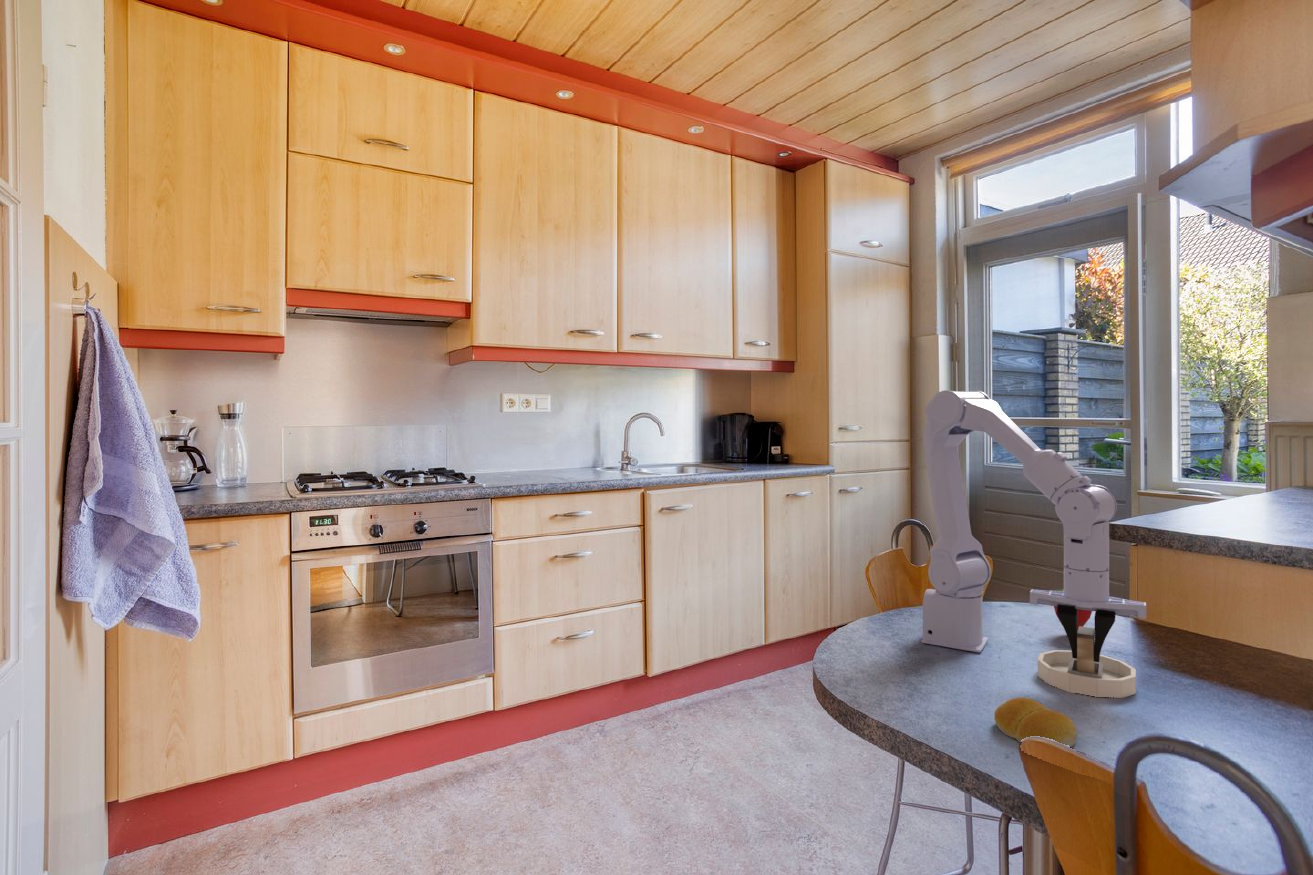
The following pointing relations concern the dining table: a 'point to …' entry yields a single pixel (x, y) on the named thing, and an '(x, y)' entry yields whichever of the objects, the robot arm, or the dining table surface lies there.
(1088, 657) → the tan cardboard box
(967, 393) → the robot arm
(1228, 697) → the dining table surface
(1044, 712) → the bread roll
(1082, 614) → the strawberry
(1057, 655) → the beige faceted bowl
